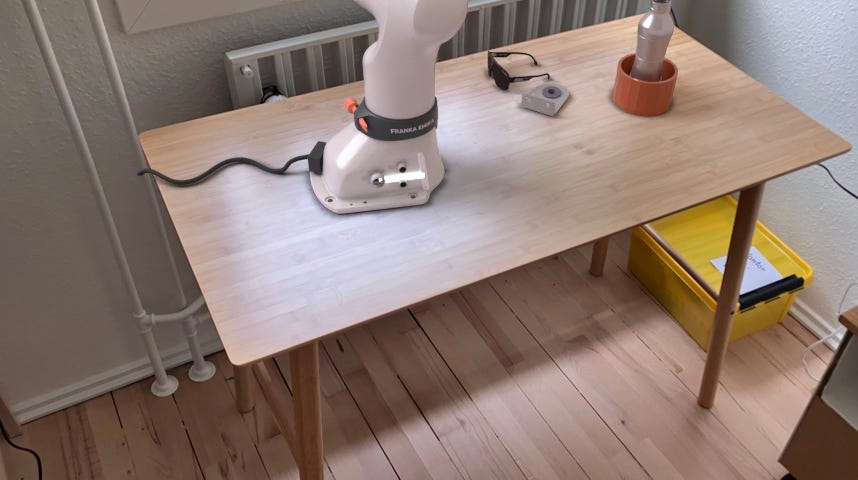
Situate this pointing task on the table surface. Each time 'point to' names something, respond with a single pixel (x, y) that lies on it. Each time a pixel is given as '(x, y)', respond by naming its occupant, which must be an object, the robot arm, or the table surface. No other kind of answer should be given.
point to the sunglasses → (502, 75)
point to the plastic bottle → (652, 41)
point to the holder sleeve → (644, 89)
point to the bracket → (546, 98)
